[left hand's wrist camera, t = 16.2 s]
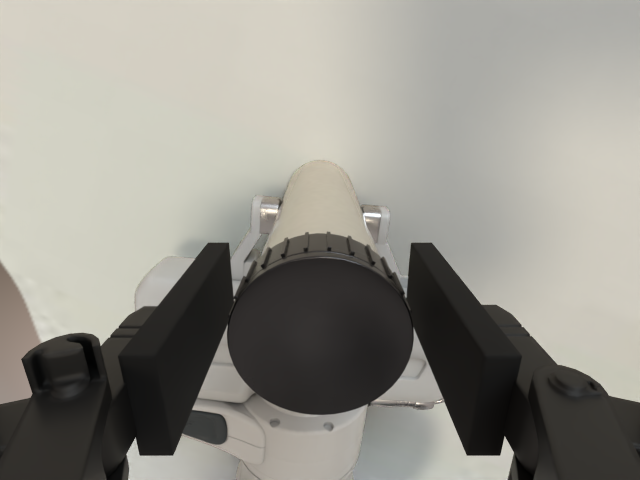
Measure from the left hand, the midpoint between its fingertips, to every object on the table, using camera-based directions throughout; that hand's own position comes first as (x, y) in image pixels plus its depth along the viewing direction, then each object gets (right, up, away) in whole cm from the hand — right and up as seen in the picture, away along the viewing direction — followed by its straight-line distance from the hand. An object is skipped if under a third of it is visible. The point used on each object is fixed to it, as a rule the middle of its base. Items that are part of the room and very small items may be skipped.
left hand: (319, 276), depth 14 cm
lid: (0, -1, -4) cm, 4 cm away
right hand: (0, +3, +7) cm, 8 cm away
